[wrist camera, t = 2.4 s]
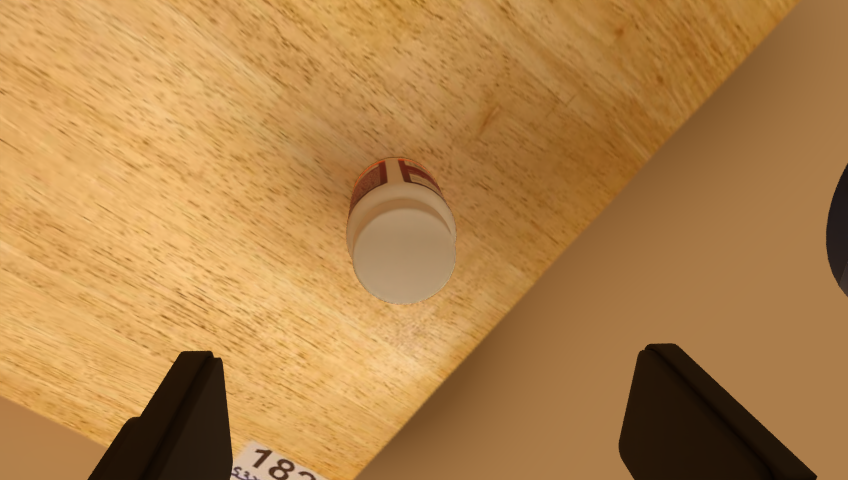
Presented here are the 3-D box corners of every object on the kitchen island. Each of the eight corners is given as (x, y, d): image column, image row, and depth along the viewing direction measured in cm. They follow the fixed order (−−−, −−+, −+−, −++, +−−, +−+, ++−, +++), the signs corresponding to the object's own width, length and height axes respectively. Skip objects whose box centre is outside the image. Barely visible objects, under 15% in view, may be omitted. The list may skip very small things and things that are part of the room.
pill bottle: (360, 247, 28) (353, 323, 20) (344, 163, 26) (329, 209, 18) (445, 234, 28) (472, 304, 20) (434, 149, 26) (459, 189, 18)
